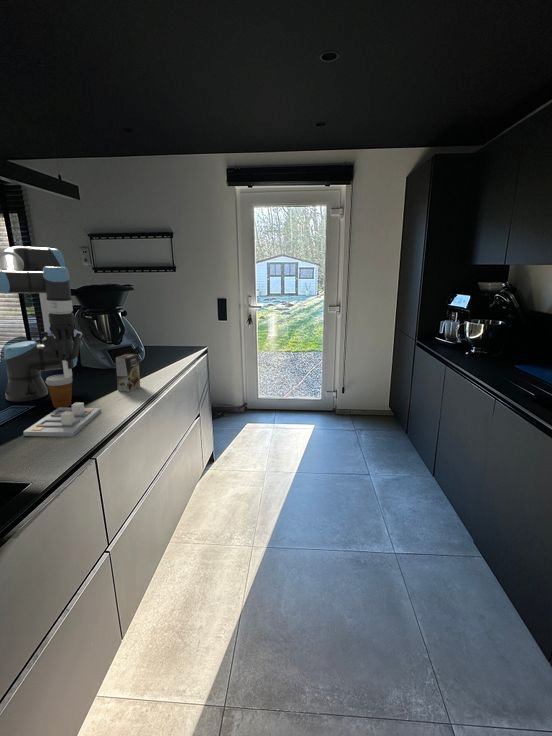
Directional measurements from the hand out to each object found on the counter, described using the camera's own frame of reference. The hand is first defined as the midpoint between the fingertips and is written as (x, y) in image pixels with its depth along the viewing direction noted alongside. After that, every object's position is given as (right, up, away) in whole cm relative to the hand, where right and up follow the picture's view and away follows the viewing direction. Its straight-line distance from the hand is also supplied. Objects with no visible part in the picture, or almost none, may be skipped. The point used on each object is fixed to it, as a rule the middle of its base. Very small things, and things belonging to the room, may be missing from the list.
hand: (68, 376), depth 130 cm
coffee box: (+6, -7, +39) cm, 40 cm away
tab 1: (+3, -16, -5) cm, 17 cm away
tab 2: (+2, -14, +4) cm, 15 cm away
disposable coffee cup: (-12, -12, +16) cm, 23 cm away
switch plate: (-1, -17, 0) cm, 17 cm away
